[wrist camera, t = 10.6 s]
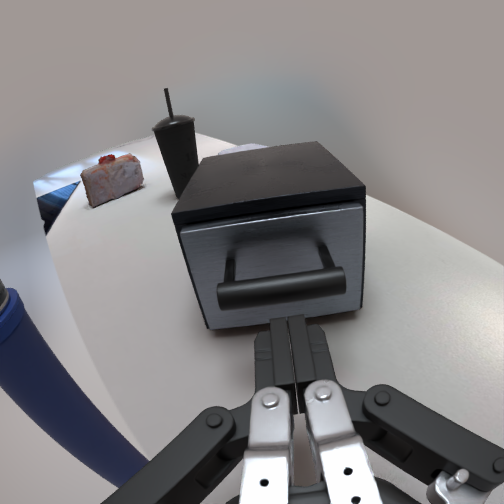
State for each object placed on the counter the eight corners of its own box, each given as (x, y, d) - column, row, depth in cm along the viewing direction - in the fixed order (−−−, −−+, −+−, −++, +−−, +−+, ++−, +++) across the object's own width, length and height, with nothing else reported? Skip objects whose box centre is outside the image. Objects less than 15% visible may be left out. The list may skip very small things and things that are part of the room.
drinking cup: (161, 202, 55) (135, 96, 45) (185, 187, 61) (163, 90, 51) (194, 202, 52) (168, 86, 42) (217, 186, 58) (196, 81, 48)
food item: (138, 182, 73) (128, 145, 68) (148, 187, 67) (137, 145, 62) (88, 203, 66) (75, 165, 62) (93, 210, 61) (79, 167, 56)
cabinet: (362, 307, 24) (365, 185, 19) (206, 329, 25) (170, 213, 20) (324, 224, 38) (317, 141, 33) (220, 238, 39) (202, 157, 34)
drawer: (376, 350, 19) (389, 239, 15) (204, 373, 20) (163, 271, 16) (322, 226, 35) (317, 154, 31) (222, 240, 36) (207, 170, 32)
